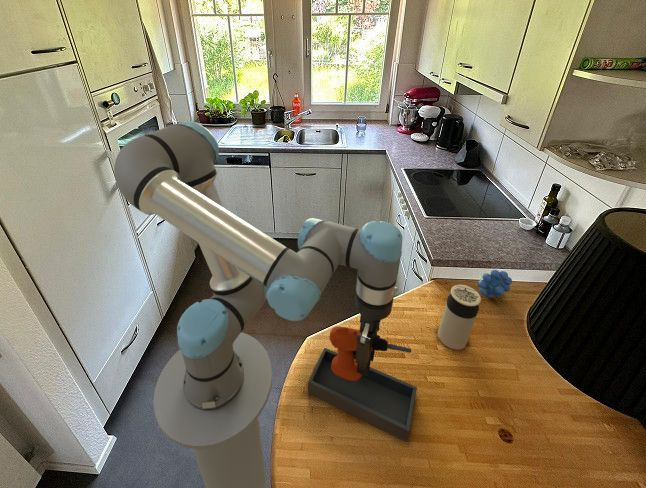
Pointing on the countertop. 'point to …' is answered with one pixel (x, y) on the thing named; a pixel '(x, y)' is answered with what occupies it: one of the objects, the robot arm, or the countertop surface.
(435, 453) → the countertop surface
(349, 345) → the toy drill
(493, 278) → the grapes
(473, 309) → the travel mug
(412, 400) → the tray
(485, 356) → the countertop surface
